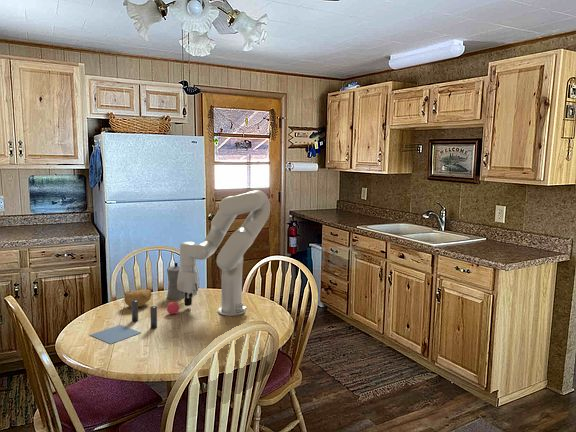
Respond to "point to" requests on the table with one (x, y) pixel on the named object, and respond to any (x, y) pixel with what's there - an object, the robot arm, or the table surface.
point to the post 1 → (134, 310)
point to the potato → (138, 297)
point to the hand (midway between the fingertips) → (188, 305)
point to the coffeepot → (173, 282)
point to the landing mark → (115, 334)
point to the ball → (173, 308)
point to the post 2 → (153, 316)
